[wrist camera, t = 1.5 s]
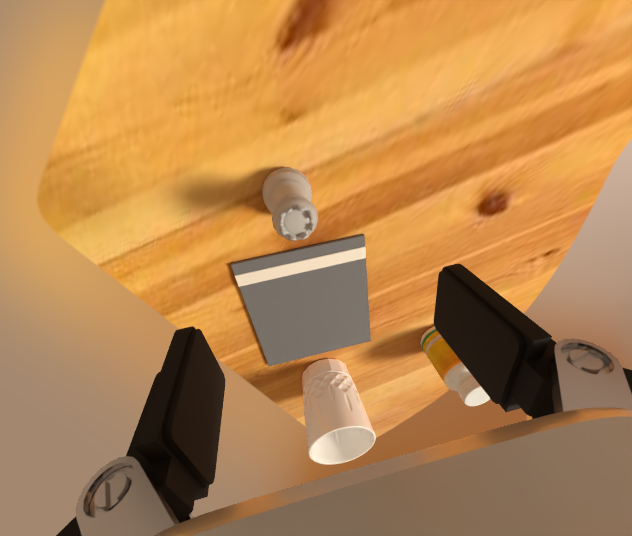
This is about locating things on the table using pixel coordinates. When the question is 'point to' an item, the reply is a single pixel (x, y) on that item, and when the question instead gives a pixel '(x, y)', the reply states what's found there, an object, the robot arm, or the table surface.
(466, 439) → the robot arm
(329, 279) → the mat
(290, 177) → the rook chess piece
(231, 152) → the table surface
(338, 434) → the white cup
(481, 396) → the supplement bottle
